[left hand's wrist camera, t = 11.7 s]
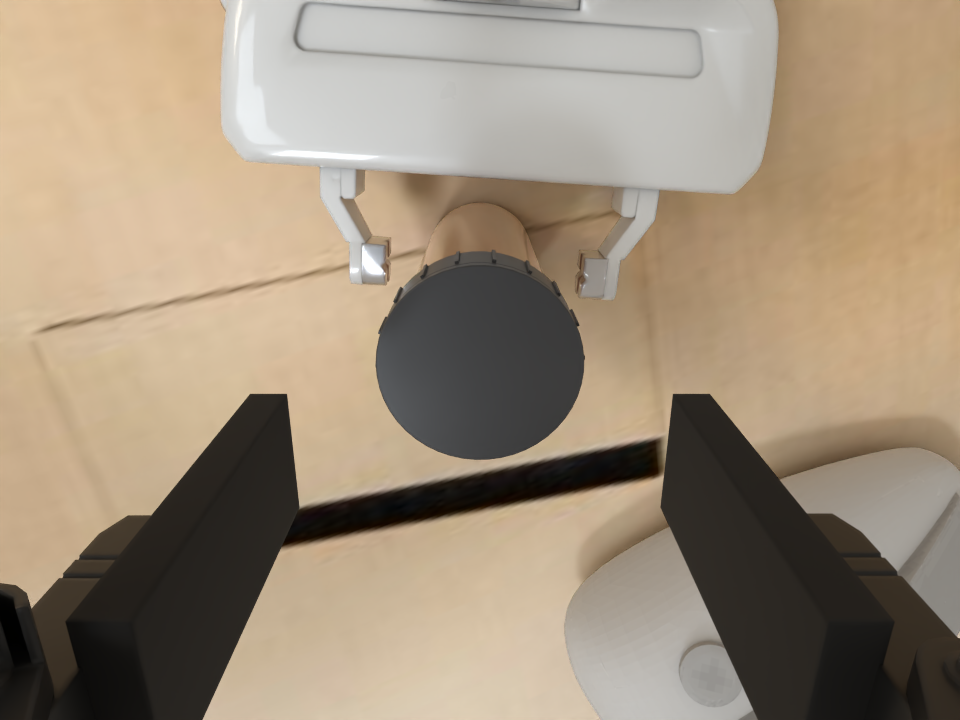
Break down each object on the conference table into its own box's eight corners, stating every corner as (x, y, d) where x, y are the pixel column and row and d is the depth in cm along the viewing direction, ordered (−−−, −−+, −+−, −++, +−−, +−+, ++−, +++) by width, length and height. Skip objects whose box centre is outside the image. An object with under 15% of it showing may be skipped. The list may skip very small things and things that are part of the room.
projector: (867, 736, 45) (1037, 1010, 31) (532, 705, 44) (555, 974, 30) (994, 446, 37) (1293, 640, 24) (591, 401, 36) (658, 577, 23)
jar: (442, 313, 35) (414, 457, 20) (417, 214, 33) (368, 296, 18) (539, 292, 34) (583, 424, 20) (520, 191, 33) (552, 256, 18)
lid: (411, 448, 22) (404, 479, 20) (360, 271, 20) (347, 288, 18) (590, 413, 21) (601, 441, 20) (558, 228, 19) (566, 241, 18)
